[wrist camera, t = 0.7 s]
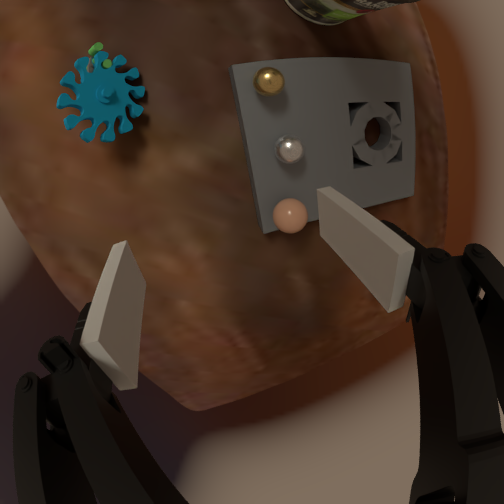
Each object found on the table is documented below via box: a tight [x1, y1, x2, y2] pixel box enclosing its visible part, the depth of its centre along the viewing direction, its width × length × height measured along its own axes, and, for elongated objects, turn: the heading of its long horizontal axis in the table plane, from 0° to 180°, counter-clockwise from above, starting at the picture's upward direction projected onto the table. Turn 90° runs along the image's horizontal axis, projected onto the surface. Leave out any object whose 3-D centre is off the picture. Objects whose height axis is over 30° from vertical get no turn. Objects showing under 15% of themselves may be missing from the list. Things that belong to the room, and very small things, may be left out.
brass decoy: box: [252, 67, 285, 97], centre depth 24 cm, size 3×3×3 cm
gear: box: [57, 42, 145, 143], centre depth 22 cm, size 11×6×10 cm
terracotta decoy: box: [273, 198, 308, 233], centre depth 31 cm, size 4×4×4 cm
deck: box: [228, 57, 415, 234], centre depth 31 cm, size 24×20×2 cm
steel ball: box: [274, 134, 305, 164], centre depth 28 cm, size 3×3×3 cm
